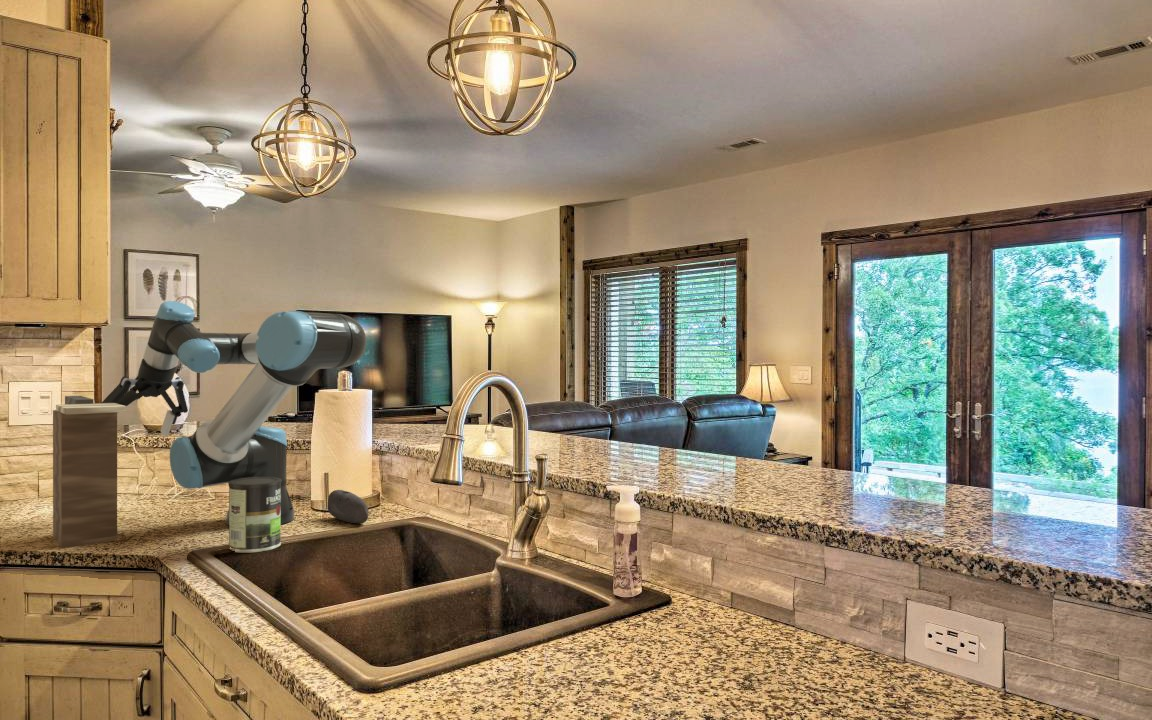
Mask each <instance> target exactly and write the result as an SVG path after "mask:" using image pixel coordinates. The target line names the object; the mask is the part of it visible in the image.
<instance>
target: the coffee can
mask: <svg viewBox="0 0 1152 720" xmlns="http://www.w3.org/2000/svg"><path fill="white" fill-rule="evenodd" d="M227 485H228V496H229V497H228V509H229V525H228V546H229V547H231V548H234V549H235V552H234V553H240V554H242V553H243V554H247V553H248V554H250V553H262V552H269V551H271V550H275V549H277V548H279V547H280V546H281V545H282V541H281V538H282V537H281V535H282V534H281V532H282V531H281V525H282V524H281V479H280V478H277V477H248V478H240V479H235V480H231V481H229V482H228V483H227ZM229 547H228V548H229Z"/></svg>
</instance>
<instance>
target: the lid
mask: <svg viewBox="0 0 1152 720" xmlns="http://www.w3.org/2000/svg"><path fill="white" fill-rule="evenodd" d="M55 410H56V411H59V412H61V413H64V414H89V413H112V412H118V413H127V406H124V405H120V404H116V403H102V402H101V403H100V402H95V403H94V398H90V397H87V396H83V395H65V396H64V404H55Z"/></svg>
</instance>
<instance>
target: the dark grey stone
mask: <svg viewBox="0 0 1152 720" xmlns="http://www.w3.org/2000/svg"><path fill="white" fill-rule="evenodd" d="M326 505H327V506H326V507H327V511H328V513H329V515H331V516H332V517H334V518H336V519H337V520H339V521H342V522H346V523H351V524H354V523H362V524H364V523H366V522H367V521H368V519H369V516H370V514H369V512H370V511H369V508H368V505H367V503H366V502H365V500H363V498H361V497H360V496H358V495H356V494H355V493H352V492H351V491H347V490H343V489H336V490H333V491H331V492H330V493H329V495H328V498H327V504H326Z"/></svg>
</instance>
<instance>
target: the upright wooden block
mask: <svg viewBox="0 0 1152 720" xmlns="http://www.w3.org/2000/svg"><path fill="white" fill-rule="evenodd" d="M52 503H53V504H52V538H53V539H54V540H55V542H56V543H57V544H58V545H59V546H60V548H61V549H67V548H72V547H79V546H86V545H87V546H88V545H93V544H94V545H95V544H101V543H110V542H115V541H118V413H117V412H112V413H89V414H64V413H61V412H59V411H56V409H54V410H52Z"/></svg>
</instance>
